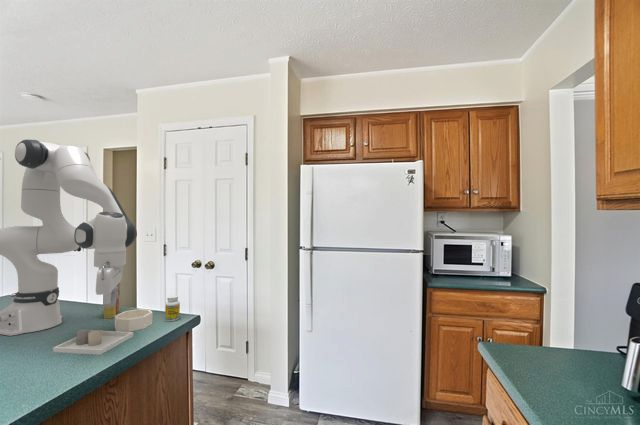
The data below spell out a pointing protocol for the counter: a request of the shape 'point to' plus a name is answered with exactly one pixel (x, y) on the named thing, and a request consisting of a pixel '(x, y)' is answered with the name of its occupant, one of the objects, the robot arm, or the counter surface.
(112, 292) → the grey rounded lump
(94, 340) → the pebble
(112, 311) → the candy box
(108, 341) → the tray
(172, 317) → the supplement bottle
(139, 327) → the bowl
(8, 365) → the counter surface
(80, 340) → the pebble
